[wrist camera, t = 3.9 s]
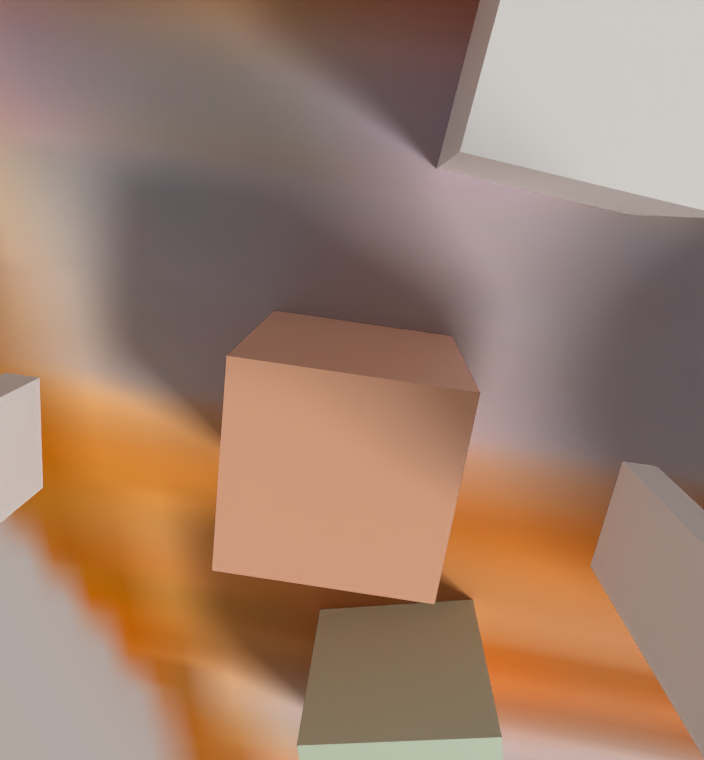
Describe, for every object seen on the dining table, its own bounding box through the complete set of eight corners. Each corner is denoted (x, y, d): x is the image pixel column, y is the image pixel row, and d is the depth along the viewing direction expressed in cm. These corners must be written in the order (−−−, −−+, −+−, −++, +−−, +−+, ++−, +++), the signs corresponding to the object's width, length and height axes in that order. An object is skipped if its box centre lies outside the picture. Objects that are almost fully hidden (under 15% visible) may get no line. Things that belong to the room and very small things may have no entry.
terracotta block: (274, 310, 16) (226, 355, 11) (451, 335, 16) (480, 392, 11) (259, 469, 17) (211, 570, 13) (421, 493, 17) (434, 604, 12)
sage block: (320, 607, 19) (297, 745, 14) (472, 597, 18) (502, 737, 13) (340, 724, 20) (325, 885, 15) (481, 717, 20) (511, 882, 15)
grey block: (494, -58, 13) (556, -211, 8) (706, -7, 13) (890, -129, 8) (435, 168, 14) (459, 151, 10) (625, 214, 14) (741, 219, 10)
